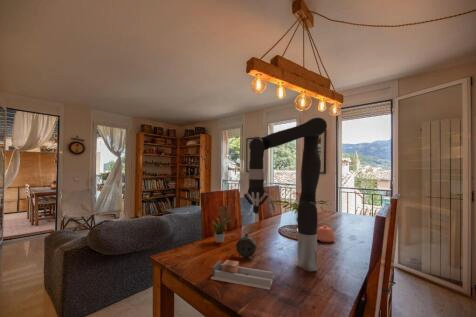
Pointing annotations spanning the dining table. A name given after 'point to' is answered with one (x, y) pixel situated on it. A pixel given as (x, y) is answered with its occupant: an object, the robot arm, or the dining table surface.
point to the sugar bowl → (325, 234)
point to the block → (231, 266)
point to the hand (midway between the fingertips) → (256, 213)
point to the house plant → (219, 231)
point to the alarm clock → (246, 246)
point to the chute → (244, 276)
